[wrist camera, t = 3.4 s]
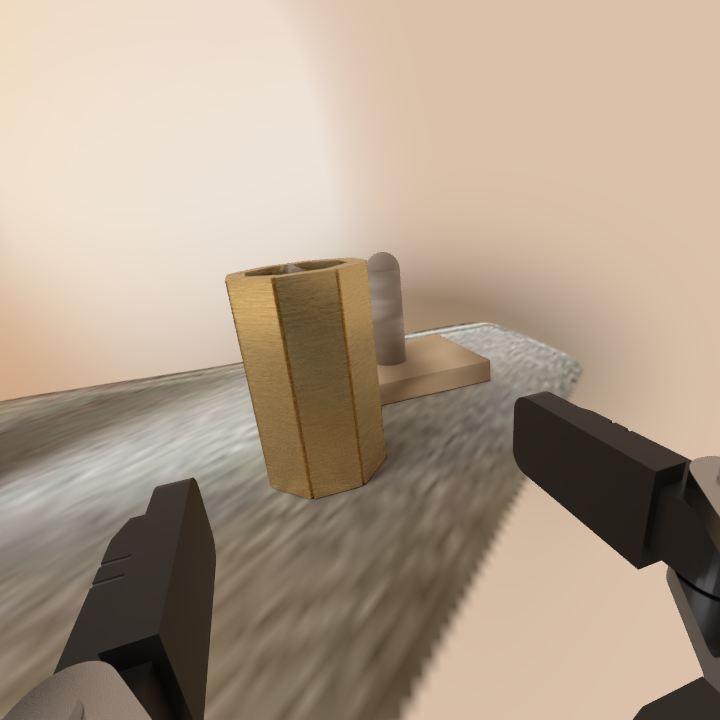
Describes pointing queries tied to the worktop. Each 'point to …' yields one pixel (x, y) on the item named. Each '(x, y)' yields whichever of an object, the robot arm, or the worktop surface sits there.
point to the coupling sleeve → (311, 372)
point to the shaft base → (413, 345)
